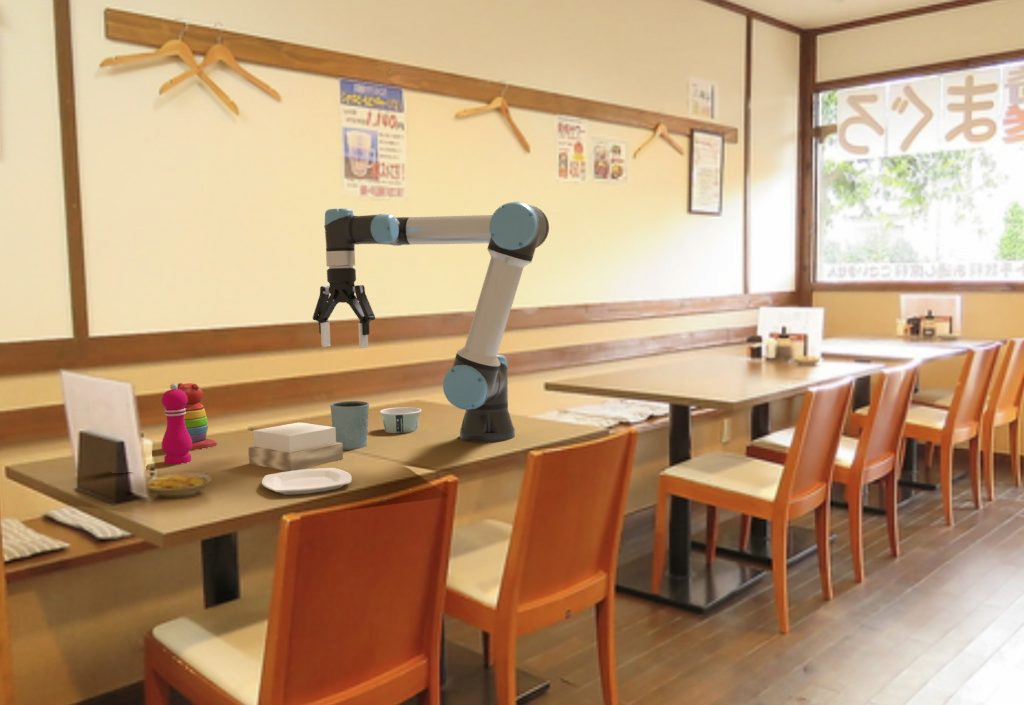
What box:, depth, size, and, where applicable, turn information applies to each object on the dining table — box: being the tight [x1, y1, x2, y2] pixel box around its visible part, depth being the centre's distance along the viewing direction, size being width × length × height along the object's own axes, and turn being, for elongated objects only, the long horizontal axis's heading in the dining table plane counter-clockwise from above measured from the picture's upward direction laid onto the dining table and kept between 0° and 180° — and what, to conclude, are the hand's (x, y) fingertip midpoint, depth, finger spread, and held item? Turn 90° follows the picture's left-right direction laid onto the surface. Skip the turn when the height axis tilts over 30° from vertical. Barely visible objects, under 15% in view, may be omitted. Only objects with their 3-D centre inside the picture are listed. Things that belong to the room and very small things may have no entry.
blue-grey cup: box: [329, 400, 370, 451], centre depth 235 cm, size 10×10×12 cm
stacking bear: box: [177, 382, 218, 451], centre depth 239 cm, size 11×10×18 cm
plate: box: [261, 467, 353, 496], centre depth 194 cm, size 19×19×2 cm
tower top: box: [252, 421, 336, 453], centre depth 218 cm, size 14×14×4 cm
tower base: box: [248, 442, 344, 472], centre depth 218 cm, size 16×16×5 cm
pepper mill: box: [161, 382, 192, 465], centre depth 221 cm, size 7×7×20 cm
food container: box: [379, 406, 422, 434], centre depth 257 cm, size 12×12×6 cm
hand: (344, 347), depth 237 cm, fingers open, 13 cm apart
